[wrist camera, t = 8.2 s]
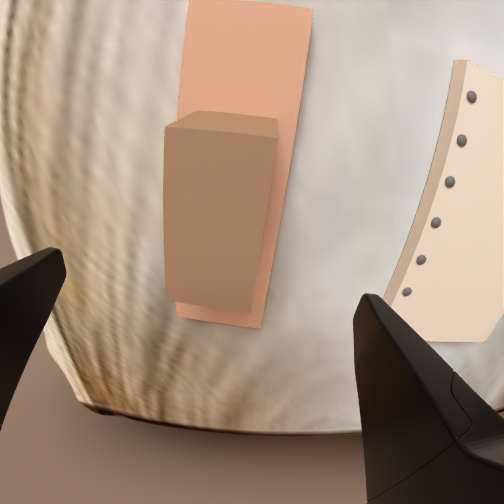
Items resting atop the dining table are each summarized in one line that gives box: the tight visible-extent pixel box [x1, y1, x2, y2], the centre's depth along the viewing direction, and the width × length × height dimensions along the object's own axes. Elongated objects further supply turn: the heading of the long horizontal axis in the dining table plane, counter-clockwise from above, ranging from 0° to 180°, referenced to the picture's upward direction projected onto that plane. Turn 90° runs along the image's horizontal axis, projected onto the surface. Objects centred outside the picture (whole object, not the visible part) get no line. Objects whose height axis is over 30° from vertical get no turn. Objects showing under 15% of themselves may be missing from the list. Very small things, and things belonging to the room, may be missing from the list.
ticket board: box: [383, 60, 504, 342], centre depth 18 cm, size 12×20×2 cm, turn 173°
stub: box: [163, 0, 314, 329], centre depth 15 cm, size 6×20×6 cm, turn 173°
